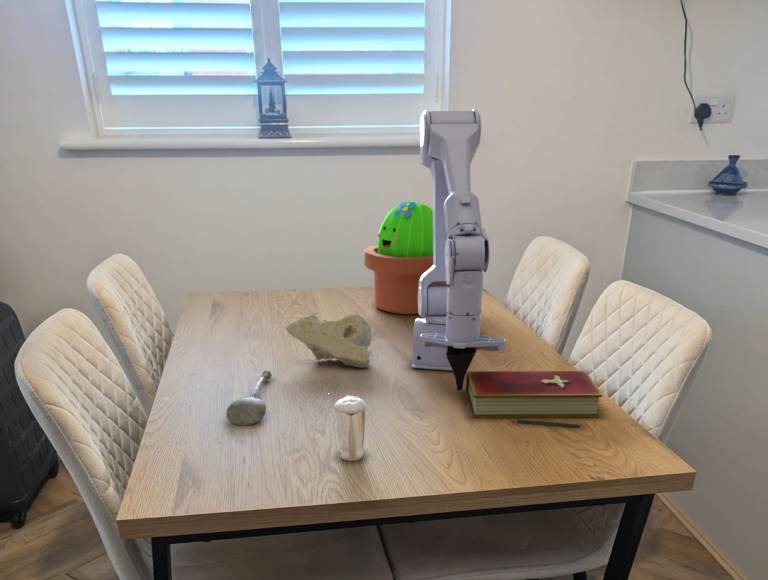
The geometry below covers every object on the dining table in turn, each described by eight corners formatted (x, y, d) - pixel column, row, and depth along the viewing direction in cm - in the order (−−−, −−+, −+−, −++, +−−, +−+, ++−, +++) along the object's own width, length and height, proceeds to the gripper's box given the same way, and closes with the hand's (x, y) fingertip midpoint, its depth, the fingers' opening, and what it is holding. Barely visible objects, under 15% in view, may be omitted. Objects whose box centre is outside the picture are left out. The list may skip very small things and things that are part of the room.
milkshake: (330, 450, 108) (327, 388, 103) (366, 449, 109) (364, 386, 104) (331, 464, 105) (328, 399, 99) (368, 462, 105) (366, 398, 100)
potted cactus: (413, 291, 194) (415, 190, 181) (472, 306, 179) (477, 198, 166) (349, 304, 182) (345, 198, 169) (405, 323, 167) (406, 208, 154)
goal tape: (517, 422, 117) (517, 422, 117) (524, 384, 132) (524, 383, 132) (579, 428, 115) (579, 427, 115) (579, 388, 130) (579, 387, 130)
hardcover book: (465, 391, 129) (466, 369, 127) (582, 390, 129) (585, 368, 127) (472, 417, 119) (474, 393, 117) (599, 417, 119) (602, 393, 117)
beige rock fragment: (387, 368, 146) (352, 310, 149) (389, 351, 139) (352, 290, 142) (320, 401, 144) (286, 341, 147) (319, 385, 136) (283, 322, 140)
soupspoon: (222, 429, 117) (262, 431, 117) (220, 410, 115) (261, 412, 115) (251, 377, 136) (285, 379, 136) (249, 360, 134) (284, 362, 134)
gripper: (416, 315, 117) (415, 393, 124) (505, 320, 114) (499, 400, 121) (424, 304, 123) (422, 379, 130) (509, 309, 120) (503, 385, 127)
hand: (459, 388), depth 126 cm, fingers closed
